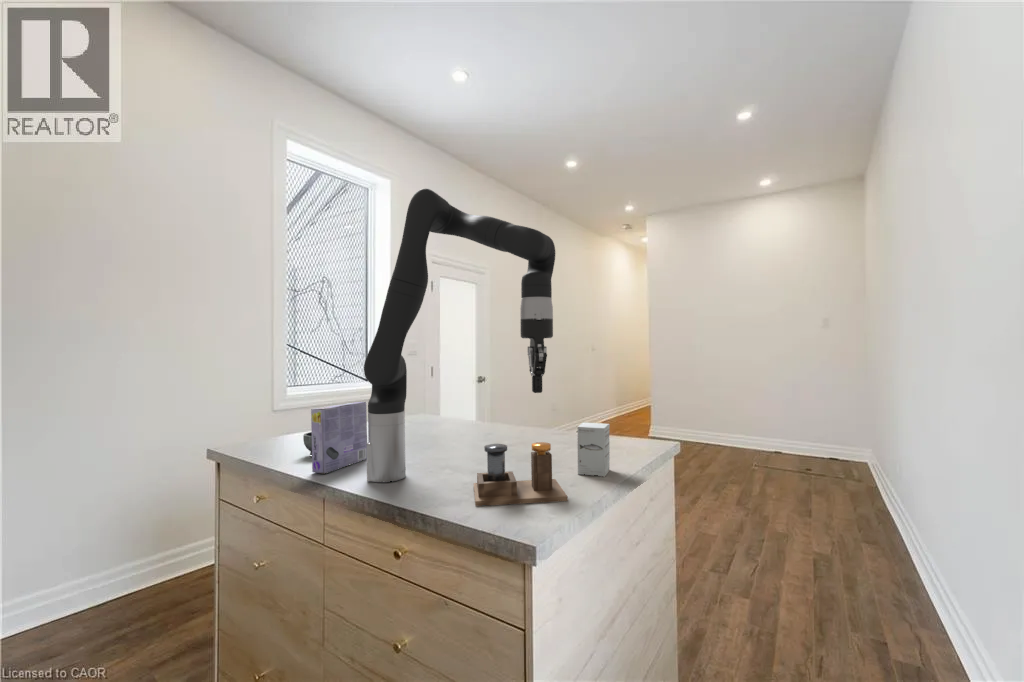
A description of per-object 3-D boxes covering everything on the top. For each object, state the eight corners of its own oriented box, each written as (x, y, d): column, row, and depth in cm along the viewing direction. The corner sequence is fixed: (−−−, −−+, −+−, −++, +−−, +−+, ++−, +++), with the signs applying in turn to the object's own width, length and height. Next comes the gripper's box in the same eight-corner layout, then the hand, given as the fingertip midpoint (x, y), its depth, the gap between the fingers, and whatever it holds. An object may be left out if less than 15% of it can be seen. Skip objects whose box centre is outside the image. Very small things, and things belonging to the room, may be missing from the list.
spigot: (486, 494, 102) (485, 450, 102) (484, 487, 107) (483, 444, 107) (509, 493, 103) (508, 448, 103) (506, 485, 108) (505, 443, 108)
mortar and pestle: (321, 459, 140) (321, 420, 140) (296, 457, 143) (296, 419, 143) (345, 451, 151) (345, 414, 151) (322, 449, 154) (321, 413, 154)
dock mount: (475, 506, 98) (474, 463, 98) (473, 487, 111) (473, 449, 111) (567, 500, 100) (566, 459, 100) (555, 483, 113) (554, 446, 113)
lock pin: (533, 490, 104) (533, 446, 104) (530, 484, 108) (530, 442, 108) (553, 489, 104) (552, 446, 104) (549, 483, 109) (548, 441, 109)
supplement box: (576, 474, 120) (576, 426, 120) (583, 467, 127) (582, 421, 127) (605, 477, 117) (604, 427, 117) (610, 470, 124) (609, 423, 124)
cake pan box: (357, 457, 143) (357, 400, 143) (371, 458, 141) (370, 400, 141) (310, 473, 125) (309, 408, 125) (324, 475, 123) (323, 409, 123)
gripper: (517, 319, 113) (517, 390, 113) (524, 316, 100) (524, 396, 100) (547, 319, 114) (547, 389, 114) (558, 316, 101) (558, 395, 101)
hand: (537, 392), depth 107 cm, fingers closed
